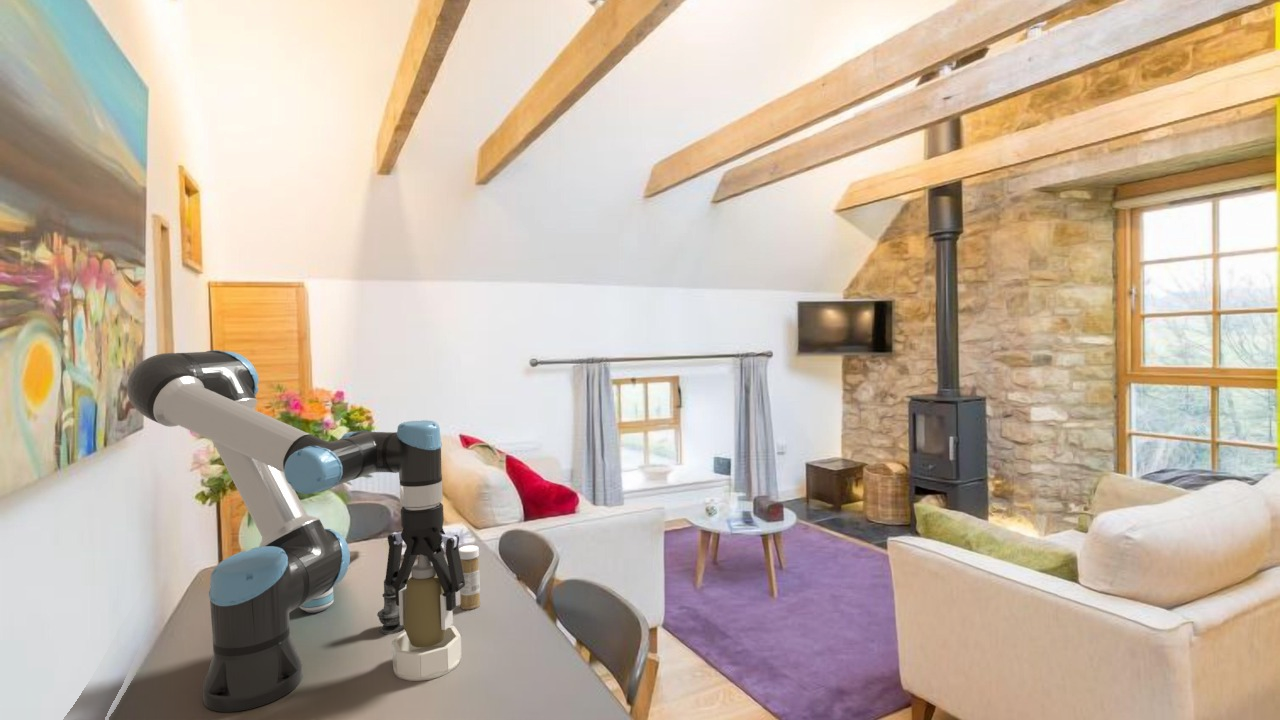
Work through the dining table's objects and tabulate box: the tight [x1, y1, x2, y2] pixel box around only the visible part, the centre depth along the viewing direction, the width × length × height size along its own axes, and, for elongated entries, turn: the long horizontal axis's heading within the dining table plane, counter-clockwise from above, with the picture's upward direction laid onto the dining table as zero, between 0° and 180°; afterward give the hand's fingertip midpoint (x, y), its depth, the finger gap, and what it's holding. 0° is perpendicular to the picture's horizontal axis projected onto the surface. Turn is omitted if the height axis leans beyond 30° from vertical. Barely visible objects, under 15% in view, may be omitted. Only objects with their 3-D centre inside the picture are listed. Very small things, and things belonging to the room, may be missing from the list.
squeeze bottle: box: [404, 554, 446, 648], centre depth 121 cm, size 8×8×18 cm
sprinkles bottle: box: [458, 544, 481, 610], centre depth 147 cm, size 5×5×14 cm
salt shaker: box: [376, 579, 405, 635], centre depth 136 cm, size 6×6×12 cm
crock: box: [391, 625, 463, 682], centre depth 122 cm, size 12×12×5 cm
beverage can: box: [299, 587, 334, 614], centre depth 147 cm, size 7×7×12 cm
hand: (426, 624), depth 121 cm, fingers closed on squeeze bottle, 8 cm apart
